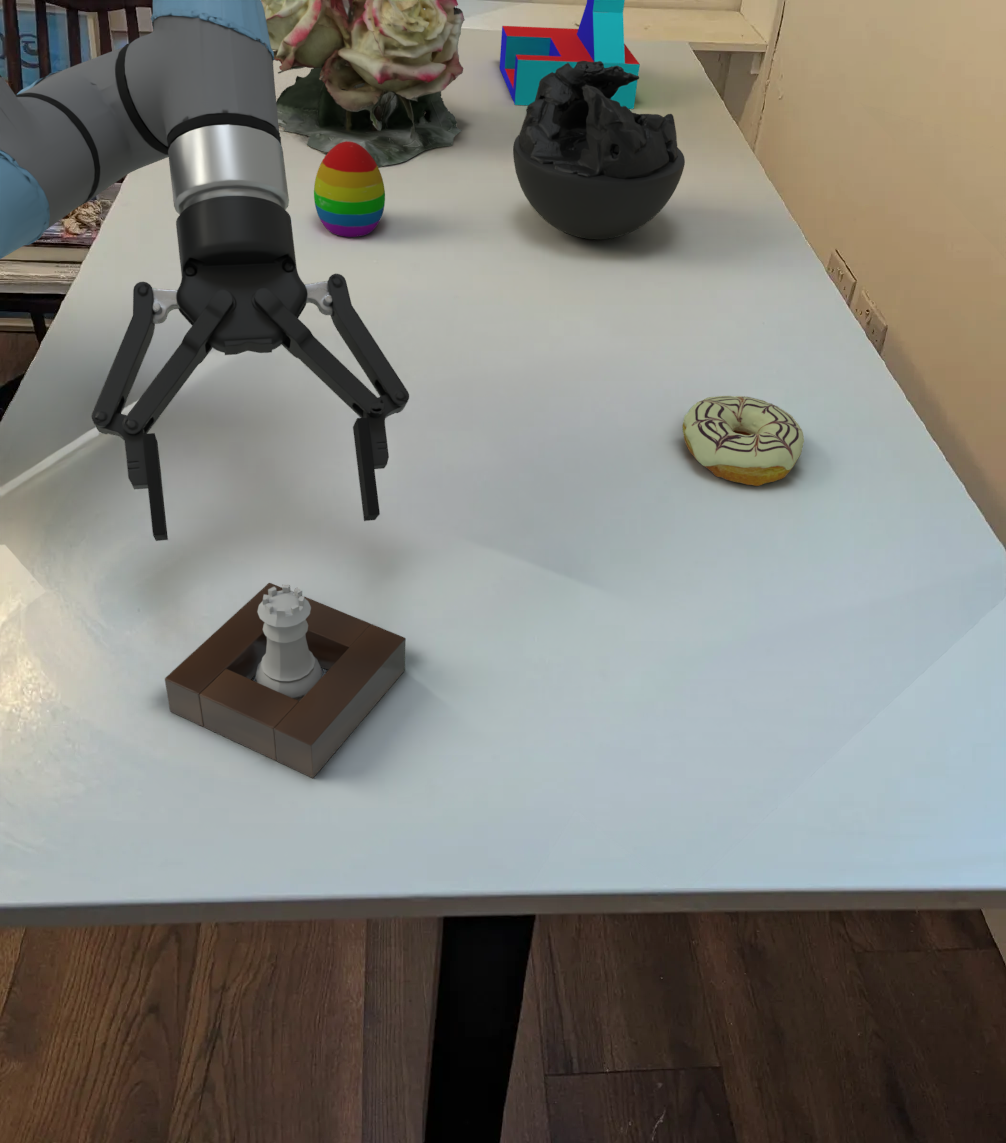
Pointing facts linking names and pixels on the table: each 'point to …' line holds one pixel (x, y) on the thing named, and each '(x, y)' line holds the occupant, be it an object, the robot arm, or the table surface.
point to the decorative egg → (349, 191)
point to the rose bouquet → (368, 72)
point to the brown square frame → (271, 719)
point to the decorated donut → (743, 439)
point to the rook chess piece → (287, 644)
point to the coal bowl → (594, 154)
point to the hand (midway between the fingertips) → (268, 528)
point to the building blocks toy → (567, 51)
